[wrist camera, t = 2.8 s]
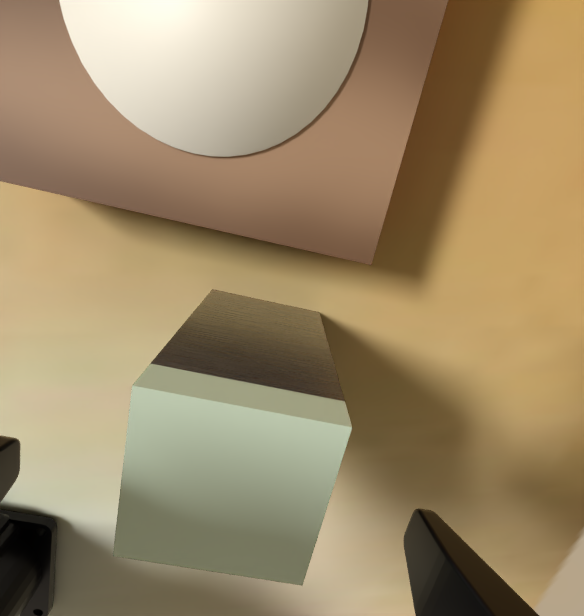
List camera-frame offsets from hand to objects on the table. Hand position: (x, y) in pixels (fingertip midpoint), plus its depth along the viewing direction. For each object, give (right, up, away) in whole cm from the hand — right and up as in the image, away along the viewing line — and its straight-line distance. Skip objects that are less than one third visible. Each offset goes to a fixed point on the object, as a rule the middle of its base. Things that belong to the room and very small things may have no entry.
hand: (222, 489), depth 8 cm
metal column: (0, +2, +7) cm, 8 cm away
